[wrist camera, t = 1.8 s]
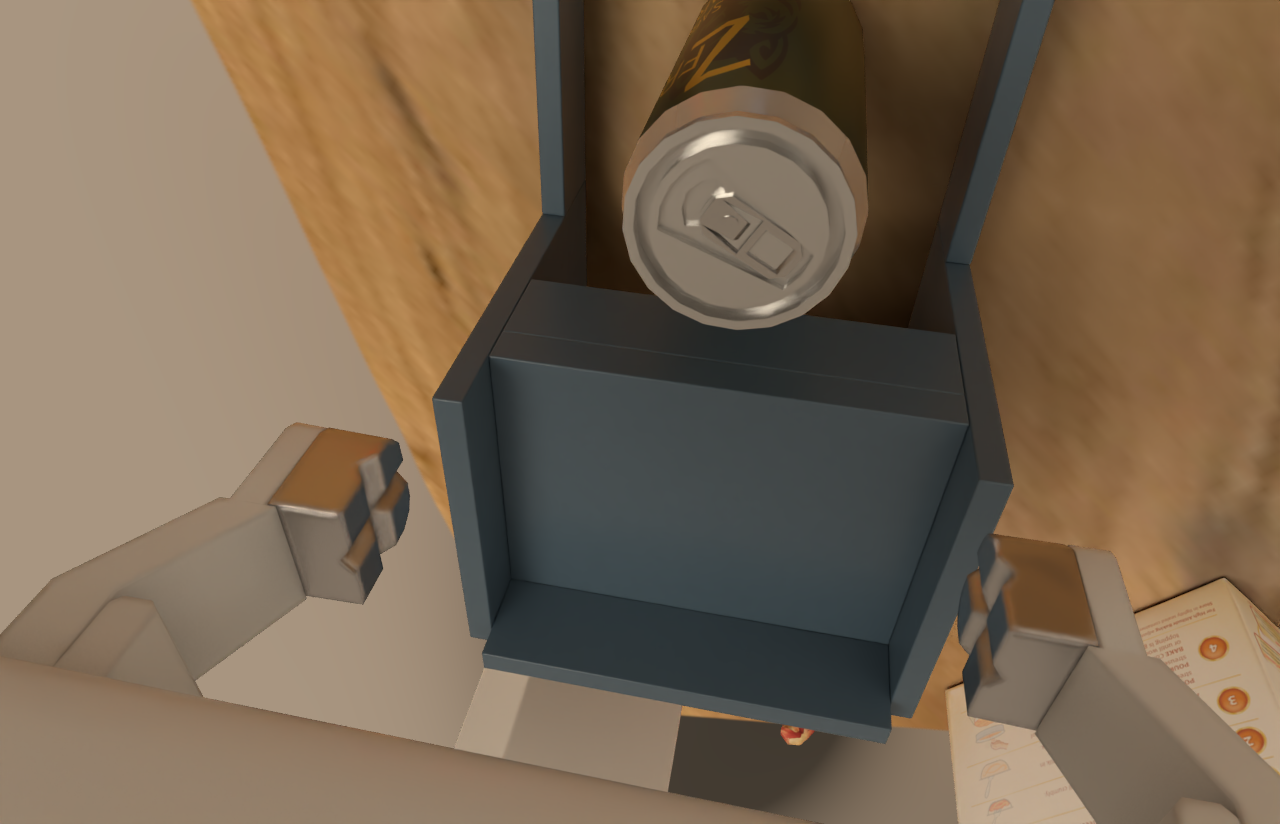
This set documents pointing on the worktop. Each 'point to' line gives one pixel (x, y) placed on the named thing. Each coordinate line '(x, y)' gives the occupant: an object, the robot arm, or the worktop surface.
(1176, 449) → the worktop surface
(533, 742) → the milk carton
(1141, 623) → the coffeecake box
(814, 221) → the green drink can
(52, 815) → the robot arm
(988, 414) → the rack
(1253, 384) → the worktop surface
